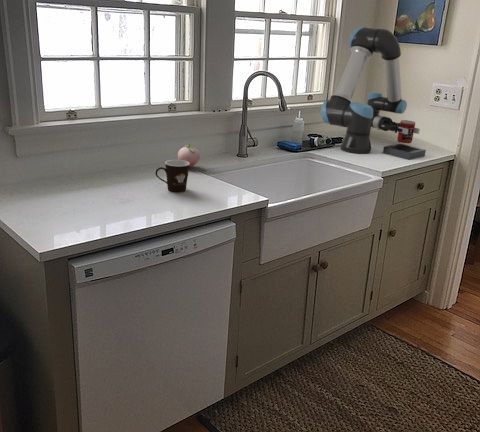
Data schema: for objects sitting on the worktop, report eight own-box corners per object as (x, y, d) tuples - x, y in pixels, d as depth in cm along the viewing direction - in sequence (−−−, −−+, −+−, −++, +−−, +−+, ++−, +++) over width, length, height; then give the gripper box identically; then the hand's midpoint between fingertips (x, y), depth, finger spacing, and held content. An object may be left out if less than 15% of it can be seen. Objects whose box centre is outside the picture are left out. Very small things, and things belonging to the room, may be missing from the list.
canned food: (402, 143, 278) (406, 122, 274) (394, 140, 285) (397, 119, 281) (414, 143, 280) (418, 123, 276) (406, 140, 287) (410, 120, 283)
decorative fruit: (173, 166, 218) (174, 142, 214) (190, 164, 222) (191, 140, 219) (185, 172, 211) (185, 147, 207) (202, 169, 215) (203, 146, 212)
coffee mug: (189, 186, 193) (190, 160, 190) (188, 194, 185) (188, 167, 182) (157, 185, 193) (158, 158, 189) (154, 192, 185) (155, 165, 181)
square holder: (408, 159, 256) (409, 153, 255) (382, 152, 266) (383, 146, 265) (424, 156, 265) (425, 150, 264) (398, 149, 275) (399, 143, 274)
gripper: (395, 129, 301) (425, 138, 282) (368, 130, 291) (397, 139, 272) (397, 116, 298) (428, 124, 280) (370, 116, 288) (400, 124, 270)
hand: (413, 131), depth 276 cm, fingers closed on canned food, 8 cm apart
